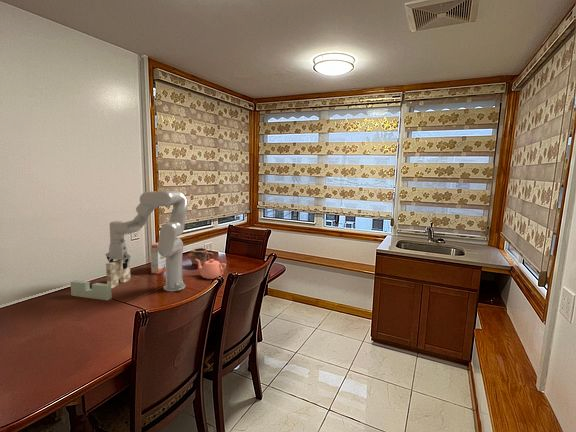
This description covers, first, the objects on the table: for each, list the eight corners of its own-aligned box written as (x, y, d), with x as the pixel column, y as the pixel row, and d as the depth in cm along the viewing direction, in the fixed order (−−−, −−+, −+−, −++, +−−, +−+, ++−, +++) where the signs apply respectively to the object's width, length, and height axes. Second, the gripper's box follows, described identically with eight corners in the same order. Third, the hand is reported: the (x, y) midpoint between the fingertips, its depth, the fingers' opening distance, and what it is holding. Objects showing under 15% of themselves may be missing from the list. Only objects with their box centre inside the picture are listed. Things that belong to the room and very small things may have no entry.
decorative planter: (215, 265, 235) (215, 247, 233) (212, 270, 223) (212, 251, 221) (189, 264, 234) (189, 247, 232) (185, 269, 222) (184, 251, 220)
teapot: (190, 278, 203) (190, 261, 202) (200, 272, 218) (200, 255, 216) (222, 281, 200) (222, 263, 199) (229, 274, 215) (229, 257, 213)
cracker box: (158, 274, 210) (157, 245, 208) (150, 273, 212) (150, 244, 209) (170, 268, 224) (169, 240, 221) (163, 267, 225) (162, 240, 222)
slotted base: (111, 298, 169) (110, 284, 168) (107, 300, 166) (106, 286, 165) (76, 293, 174) (75, 280, 173) (71, 295, 171) (70, 281, 170)
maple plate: (126, 279, 199) (125, 257, 197) (130, 279, 198) (129, 257, 196) (107, 287, 183) (106, 264, 181) (111, 288, 183) (110, 264, 181)
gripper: (133, 241, 189) (134, 267, 191) (110, 239, 193) (111, 264, 195) (124, 243, 182) (126, 271, 184) (100, 241, 185) (102, 268, 188)
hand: (118, 267), depth 189 cm, fingers open, 9 cm apart
